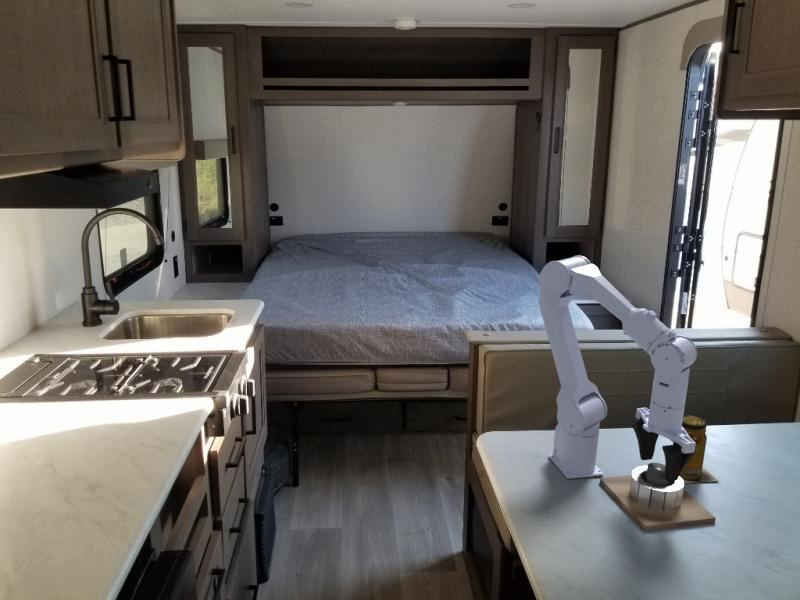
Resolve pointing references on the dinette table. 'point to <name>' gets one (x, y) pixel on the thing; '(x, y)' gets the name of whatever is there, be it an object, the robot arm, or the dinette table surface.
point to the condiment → (694, 466)
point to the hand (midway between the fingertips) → (658, 469)
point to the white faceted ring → (655, 492)
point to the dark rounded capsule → (656, 475)
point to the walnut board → (652, 518)
